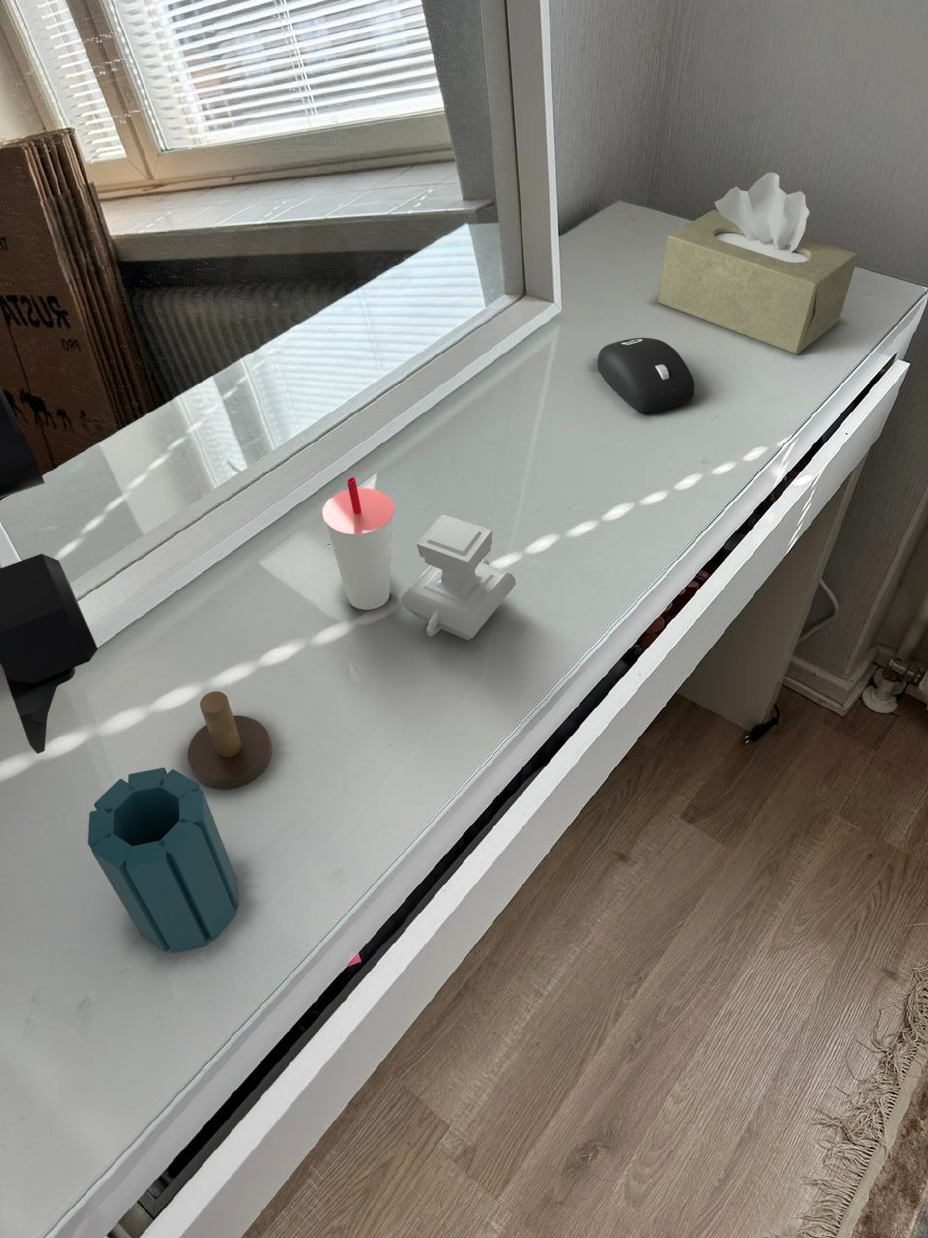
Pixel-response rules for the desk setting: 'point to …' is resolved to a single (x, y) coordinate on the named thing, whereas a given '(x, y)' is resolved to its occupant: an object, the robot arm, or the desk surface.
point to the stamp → (456, 579)
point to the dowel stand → (227, 746)
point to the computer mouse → (646, 374)
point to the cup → (362, 543)
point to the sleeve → (164, 858)
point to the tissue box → (757, 268)
